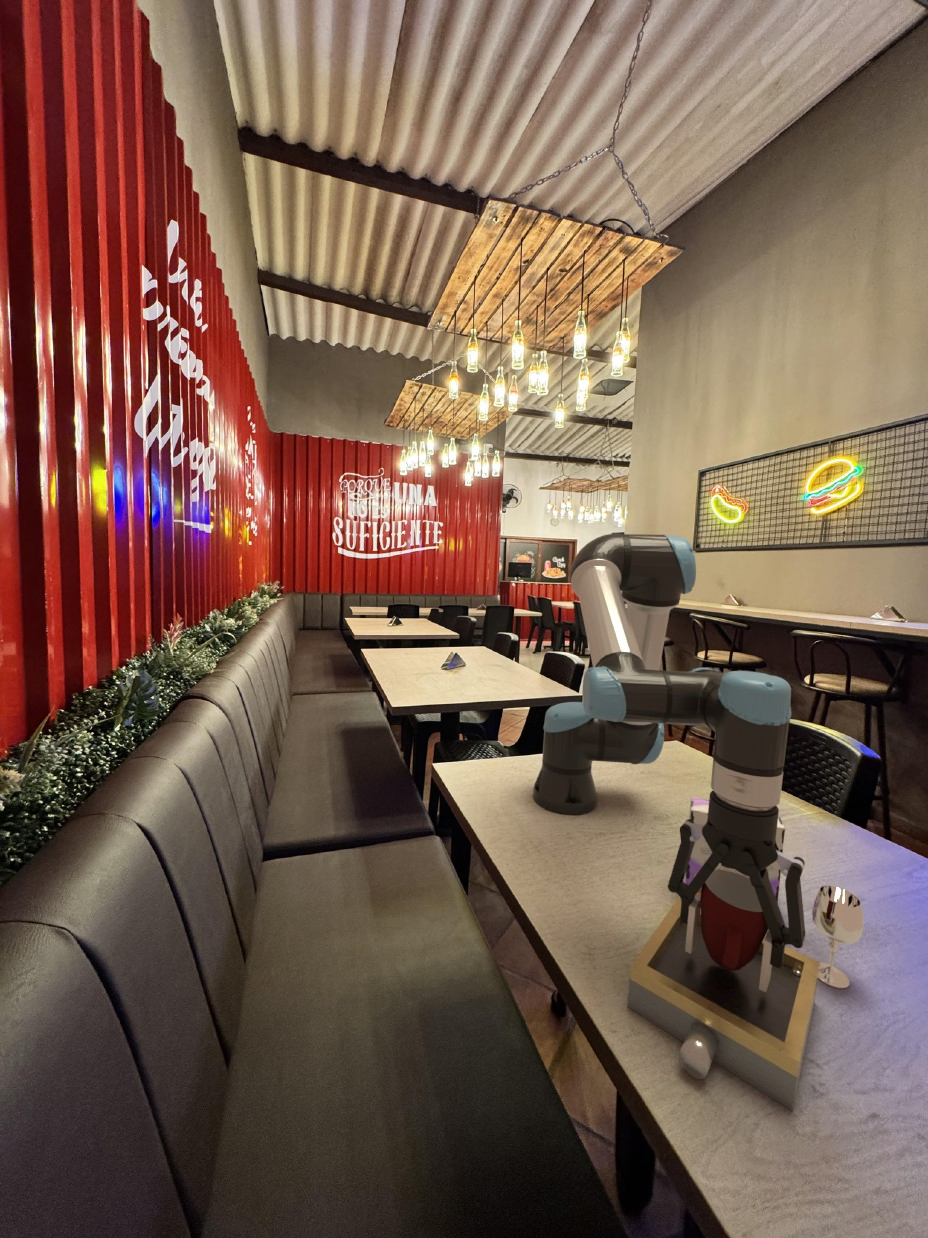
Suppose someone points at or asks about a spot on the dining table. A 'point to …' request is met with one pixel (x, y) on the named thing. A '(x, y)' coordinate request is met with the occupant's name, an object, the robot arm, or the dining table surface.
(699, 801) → the candy box
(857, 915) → the wineglass
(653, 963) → the shallow drawer tray
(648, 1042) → the dining table surface
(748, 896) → the mug
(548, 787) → the robot arm
